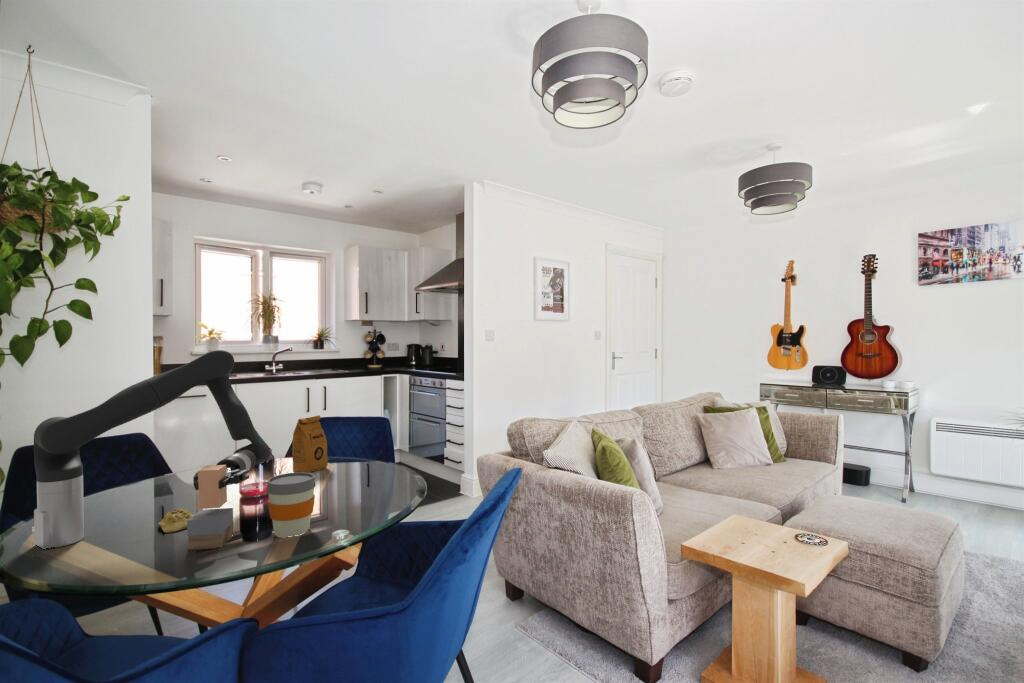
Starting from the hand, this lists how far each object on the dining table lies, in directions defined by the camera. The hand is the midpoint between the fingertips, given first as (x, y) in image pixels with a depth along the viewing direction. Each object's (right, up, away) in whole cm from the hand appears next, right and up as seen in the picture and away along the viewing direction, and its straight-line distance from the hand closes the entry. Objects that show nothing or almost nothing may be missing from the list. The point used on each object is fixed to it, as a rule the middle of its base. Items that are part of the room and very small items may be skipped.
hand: (208, 485), depth 131 cm
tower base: (-1, -16, +3) cm, 16 cm away
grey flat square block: (-1, -12, +2) cm, 12 cm away
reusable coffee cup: (+18, -16, +10) cm, 25 cm away
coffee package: (-3, -15, +74) cm, 75 cm away
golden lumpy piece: (-18, -16, +15) cm, 28 cm away
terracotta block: (0, -6, +3) cm, 7 cm away
